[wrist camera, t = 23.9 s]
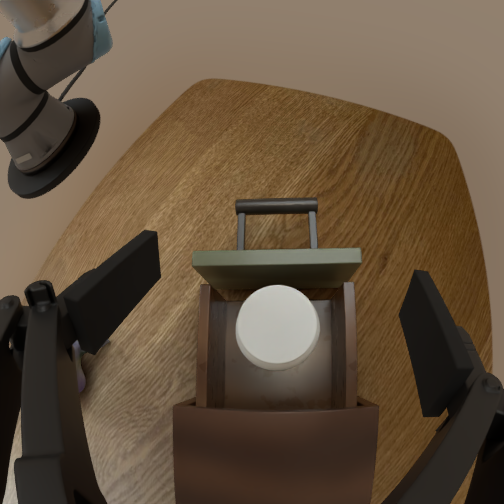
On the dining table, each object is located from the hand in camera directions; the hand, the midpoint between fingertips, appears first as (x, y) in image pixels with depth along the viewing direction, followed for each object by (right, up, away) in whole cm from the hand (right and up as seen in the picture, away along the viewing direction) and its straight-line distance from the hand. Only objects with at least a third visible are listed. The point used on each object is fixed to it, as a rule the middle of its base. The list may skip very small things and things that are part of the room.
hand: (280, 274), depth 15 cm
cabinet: (+1, -20, +9) cm, 22 cm away
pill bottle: (+1, -6, +12) cm, 13 cm away
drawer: (+1, -6, +13) cm, 14 cm away
